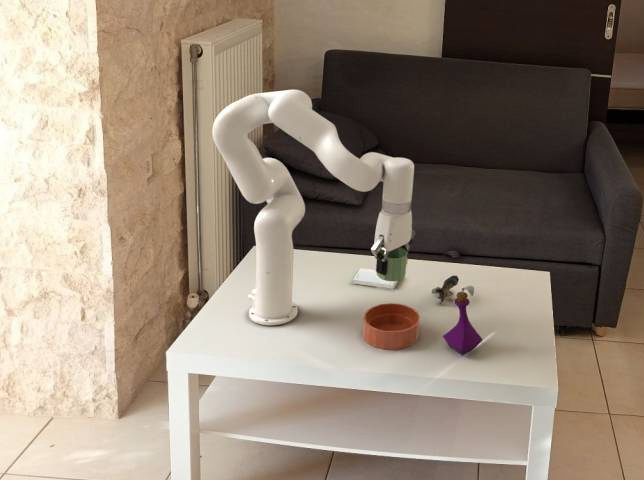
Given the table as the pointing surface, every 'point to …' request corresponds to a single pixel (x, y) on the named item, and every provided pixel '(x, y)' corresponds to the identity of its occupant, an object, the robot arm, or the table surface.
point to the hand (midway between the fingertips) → (391, 267)
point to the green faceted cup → (395, 265)
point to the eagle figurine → (446, 288)
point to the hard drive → (371, 279)
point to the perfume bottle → (463, 327)
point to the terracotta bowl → (391, 326)
